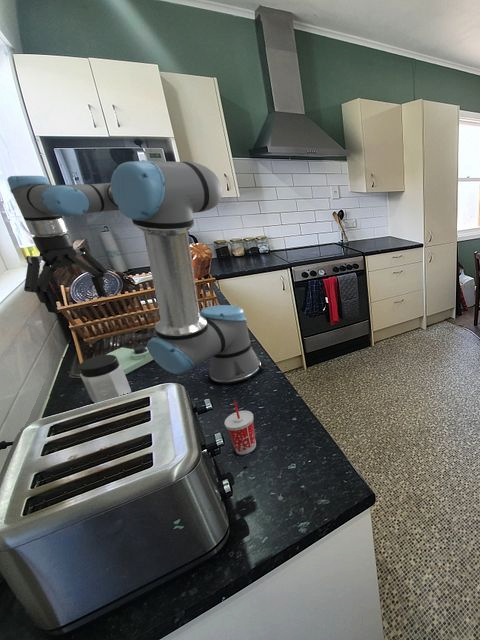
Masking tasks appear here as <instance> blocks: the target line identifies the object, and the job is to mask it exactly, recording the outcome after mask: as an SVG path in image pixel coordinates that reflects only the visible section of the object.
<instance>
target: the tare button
mask: <svg viewBox="0 0 480 640" xmlns="http://www.w3.org/2000/svg"><path fill="white" fill-rule="evenodd" d="M133 349H134V351H135V354H141V353H144V352H146V349H145V346H144V345H138V346H136V347H134V348H133Z"/></svg>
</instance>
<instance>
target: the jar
mask: <svg viewBox="0 0 480 640" xmlns="http://www.w3.org/2000/svg"><path fill="white" fill-rule="evenodd" d="M77 368H78V370H79V372H80V373H79V375H80V378H81V380H82V382H83V384H84V387H85V388H86V389H85V390H86V391H87V393H88V396H89V397H90V399H91V402H93V403H95V404H96V402H100V401H104V400H107V399H110V398H113V397H117V396H120V395H123V394H127V393H129V394H131V393H132V389H131V386H130V384H129V381H128V379H127V375H125V373H124V371H123V368H122V366H121V365H119V362H118V360H117V357H116V356H114V355H106V354H101V355H97V356H93V357H90V358H88V359H85V360H83V361H82V362H81V363H79V365H78V367H77Z"/></svg>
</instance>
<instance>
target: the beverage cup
mask: <svg viewBox="0 0 480 640" xmlns="http://www.w3.org/2000/svg"><path fill="white" fill-rule="evenodd" d="M233 404H234V409H235V412H233V413H231V414H229V415H228V416H227V417H226V418H225V420H224V426H225V428H226V429H227V431H228V435H229V436H230V439H231V442H232V446H233V448H234V450H235V452H236V454H238V455H247V454H249V453H251V452H253V451H254V450H255V449H256V447H257V441H256V432H255V427H254V426H255V425H254V414H253V413H252V411H249V410H239V408H238V404H237V401H236V400H234V401H233Z"/></svg>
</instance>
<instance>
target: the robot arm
mask: <svg viewBox="0 0 480 640" xmlns="http://www.w3.org/2000/svg"><path fill="white" fill-rule="evenodd" d="M7 183H8V186H9V190H10V193H11V194H12V196H13V199H14V200H15V203H16V204H17V207H18V209H19V211H20V213H21V215H22V217H23V220H24V222H25V224H26V225H25V226H26V227H27V229H28V232H29V234H30V235H33V236H32V238H31V239H32V240H33V243H34V246H35V248H36V249H37V251H38V252H39V255H26V256H25V259H26V263H27V268H26V273H25V280H24V287H23V290H24V292H27V293H35V295H36V297H37V298H38V301H39V302H40V303H41V304H44V305H45V307H46V309H47V312H48V313H53V314H57V313H59V309H58V306H57V304H56V302H55V300H54V299H53V296H52V294H51V291H50V290H47V288H48V286H49V284H50V282H51V279H52V277H53V275H54V273H55V272H57V270H58V269H61V268H65V267H71V266H75V267H77V268H79V269H81V270H82V271H84V272H85V273H88V274H89V275H91V277H90V279H91V282H92V285H93V287H94V290H95V292H96V294H97V297H99V298H107V297H108V295H107V292H106V290H105V286H106V283H105V280H104V278H105V274H107V273H108V272H109V271H108V269H107V268H106V267H105V266H104V265H102V264H101V263H100V262H99V260H97V258H95V257H94V255H93V254H91V253H90V251H89V249H88V247H86V246H76V248H74V243H73V240H72V238H71V235H70V234H69V233H68V232H69V229H68V227H67V225H66V223H65V219H64V217H79V216H82V215H83V214H91V213H93V214H94V213H101V212H114V211H120V212H121V214H123V215H124V216H125V217H127V218H128V219H130V220H131V221H132V224H133V225H134V226H135V227H137V228H138V229H139V230H140V231H142V232H143V238H144V242H145V247H146V252H147V257H148V262H149V267H150V268H149V269H150V273H151V279H152V284H153V288H154V292H155V298H156V302H157V308H158V312H159V317H160V319H159V320H158V321H157V322H156V324H155V325H154V329H155V335H156V336H155V337H151V339H149V340H148V342H147V345H146V347H148V351H149V353H150V355H151V356H152V358H153V359H154V360H153V361H154V362H156V364H158V365H159V367H161V368H162V369H164V370H166V371H167V372H168V373H171V374H177V375H178V374H183V373H186V372H187V371H189V370H193V369H194V368H196V367H197V366H199V365H201V364H203V363H204V362H206V361H209V359H210V363H209V366H210V367H209V369H208V375H209V379H210V380H211V382H212V383H214V384H218V385H226V386H227V385H235V384H239V383H243V382H246V381H248V380H251V379H252V378H255V376H257V375H258V374H259V373H260V372H261V371H265V370H266V367H265V366H262V363H261V360H260V358H259V357H258V356H257V354H256V352H255V351H254V349H253V348H252V344H251V339H250V333H249V328H248V323H247V318H246V315H245V311H244V310H243V309H242V308H241V307H239V306H236V305H233V304H232V305H230V304H229V305H228V304H221V305H211V306H207V307H204V308H202V309H201V310H200V309H199V302H198V295H197V288H196V281H195V274H194V267H193V266H194V265H193V259H192V252H191V245H190V237H189V231H190V230H191V229H192V228H193V227H194V226H195V221H194V214H195V213H203V212H206V211H210V210H212V209H214V208H216V206H218V205H219V203H220V202H221V199H222V198H223V186H222V183H221V181H220V179H219V177H218V176H217V175H216V173H215V172H214V171H212V170H211V169H210V168H209V167H207V166H205V165H203V164H200V163H197V162H193V161H169V160H168V161H165V160H144V159H142V160H135V161H126V162H123V163H121V164H118V166H117V167H116V169H115V170H113V173H112V175H111V179H110V182H105V183H83V184H78V183H77V184H50V182H49V180H48V179H47V178H46V177H45V176H43V175H10V176H8V177H7ZM77 255H80V257H81V258H82V259H84V261H86V262H87V264H86V263H85V262H83V260H81V259H79V258H77ZM42 261H43V262H44V263H43V265H42V270H41V264H42ZM40 270H41V271H40Z"/></svg>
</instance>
